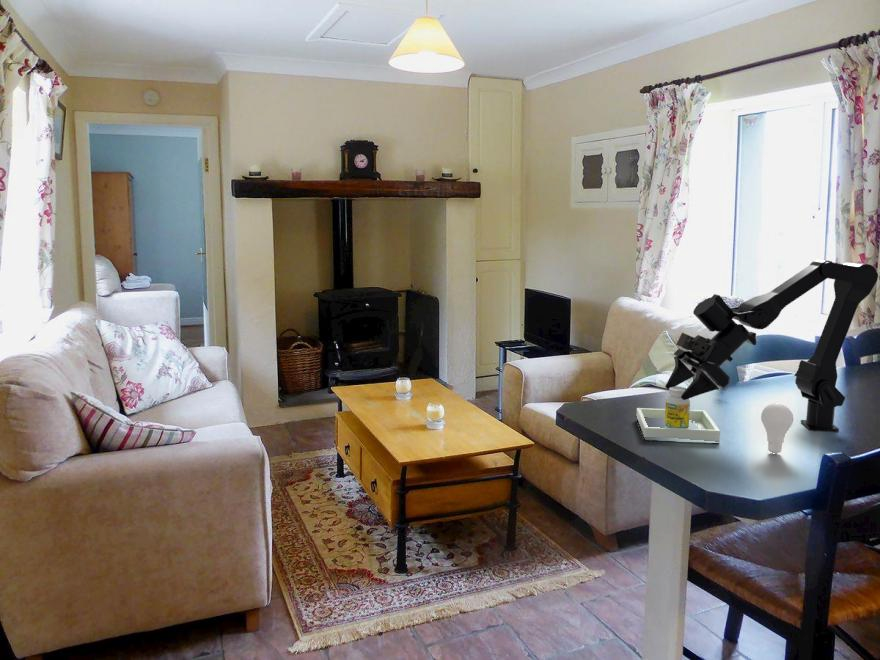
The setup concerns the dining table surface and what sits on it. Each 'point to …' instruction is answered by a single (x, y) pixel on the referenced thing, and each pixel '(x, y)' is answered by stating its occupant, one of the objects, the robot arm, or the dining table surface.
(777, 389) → the dining table surface
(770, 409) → the lightbulb
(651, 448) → the dining table surface
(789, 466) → the dining table surface
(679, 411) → the supplement bottle
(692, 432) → the bin
